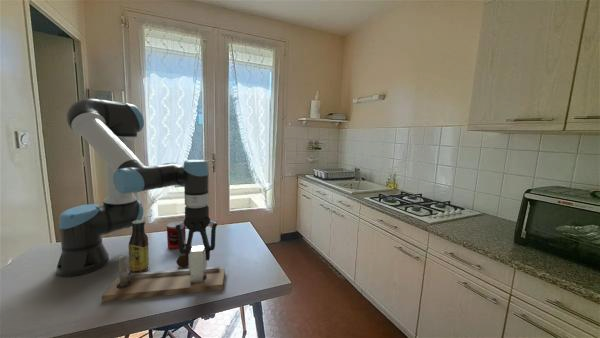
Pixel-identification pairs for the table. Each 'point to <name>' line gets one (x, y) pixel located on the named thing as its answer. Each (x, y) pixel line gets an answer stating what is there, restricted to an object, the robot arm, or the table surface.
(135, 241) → the sauce bottle
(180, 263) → the bolt
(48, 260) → the table surface
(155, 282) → the board
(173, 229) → the canned food
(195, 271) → the block
